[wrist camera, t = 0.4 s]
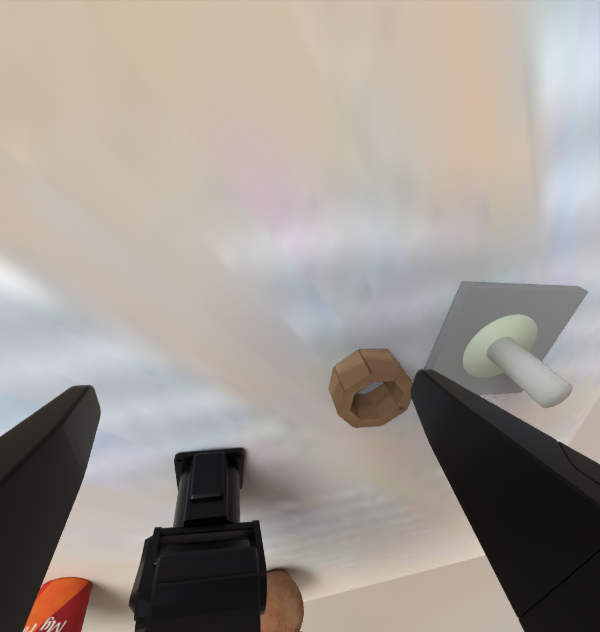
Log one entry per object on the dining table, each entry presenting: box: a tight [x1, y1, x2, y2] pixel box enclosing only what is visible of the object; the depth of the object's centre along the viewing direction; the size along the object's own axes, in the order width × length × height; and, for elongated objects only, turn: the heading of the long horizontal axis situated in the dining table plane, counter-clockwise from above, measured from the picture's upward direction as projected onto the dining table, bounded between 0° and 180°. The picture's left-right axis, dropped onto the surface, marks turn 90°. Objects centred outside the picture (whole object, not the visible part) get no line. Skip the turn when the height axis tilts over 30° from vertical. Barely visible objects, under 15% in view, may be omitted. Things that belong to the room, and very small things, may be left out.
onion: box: [260, 570, 304, 632], centre depth 45 cm, size 10×9×10 cm
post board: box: [425, 282, 588, 408], centre depth 27 cm, size 12×12×7 cm
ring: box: [329, 349, 413, 428], centre depth 28 cm, size 6×6×3 cm
